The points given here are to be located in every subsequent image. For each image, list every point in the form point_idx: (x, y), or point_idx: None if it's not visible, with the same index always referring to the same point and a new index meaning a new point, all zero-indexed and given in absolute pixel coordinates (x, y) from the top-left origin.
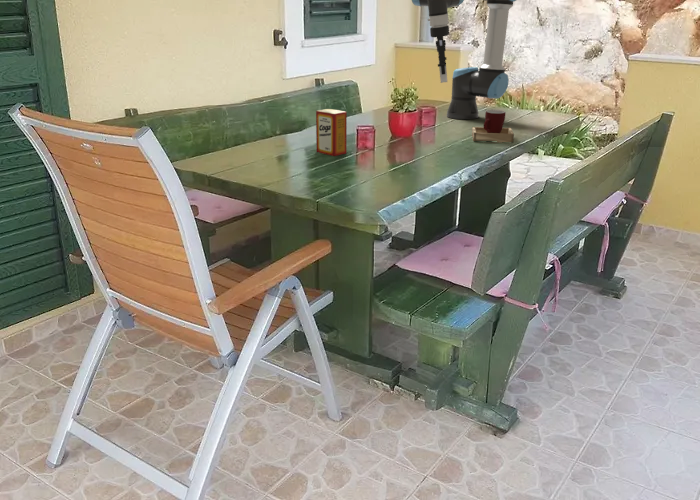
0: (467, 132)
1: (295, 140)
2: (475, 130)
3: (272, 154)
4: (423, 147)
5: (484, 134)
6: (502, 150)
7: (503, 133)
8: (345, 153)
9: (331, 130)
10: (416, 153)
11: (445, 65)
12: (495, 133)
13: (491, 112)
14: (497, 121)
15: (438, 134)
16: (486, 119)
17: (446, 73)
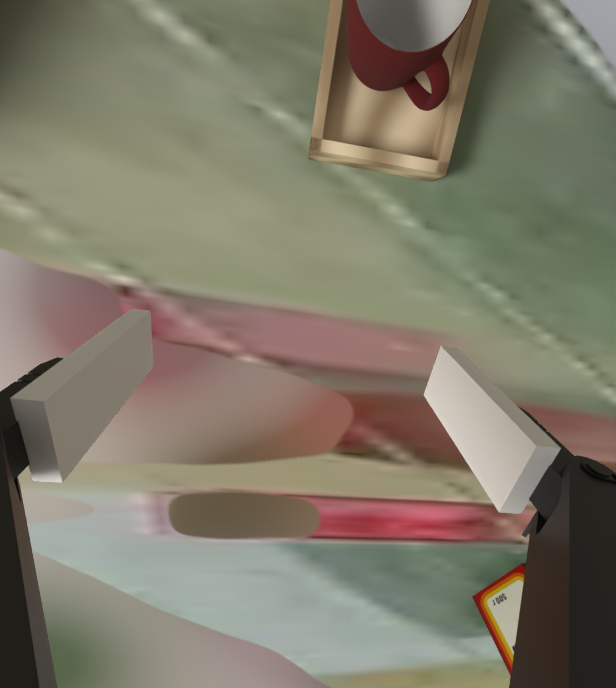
0: (254, 166)
1: (366, 657)
2: (393, 153)
3: (501, 683)
4: (494, 375)
5: (456, 124)
6: (599, 90)
7: (475, 16)
8: (524, 565)
9: None
10: (566, 404)
11: (592, 463)
12: (469, 63)
13: (352, 2)
14: (453, 11)
15: (296, 297)
16: (436, 78)
17: (497, 390)
